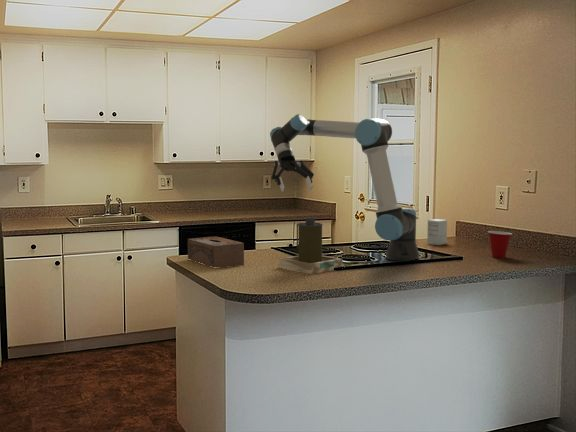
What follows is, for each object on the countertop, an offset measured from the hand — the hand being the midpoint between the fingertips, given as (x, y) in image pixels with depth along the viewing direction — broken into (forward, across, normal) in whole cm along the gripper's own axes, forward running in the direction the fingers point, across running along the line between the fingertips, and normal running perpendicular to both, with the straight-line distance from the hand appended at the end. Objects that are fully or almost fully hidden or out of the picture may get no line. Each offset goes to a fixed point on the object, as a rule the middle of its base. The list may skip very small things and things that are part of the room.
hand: (297, 189), depth 313 cm
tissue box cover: (+17, +36, -29) cm, 49 cm away
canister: (+36, +2, -8) cm, 37 cm away
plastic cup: (+42, -90, -4) cm, 100 cm away
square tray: (+37, +2, -9) cm, 38 cm away
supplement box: (+10, -86, -36) cm, 94 cm away
